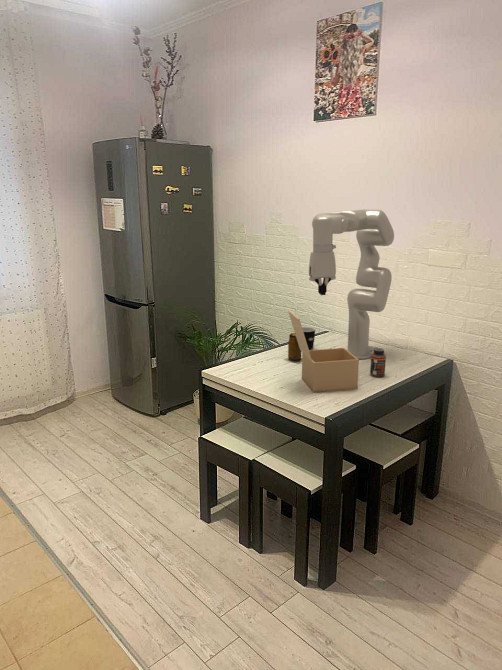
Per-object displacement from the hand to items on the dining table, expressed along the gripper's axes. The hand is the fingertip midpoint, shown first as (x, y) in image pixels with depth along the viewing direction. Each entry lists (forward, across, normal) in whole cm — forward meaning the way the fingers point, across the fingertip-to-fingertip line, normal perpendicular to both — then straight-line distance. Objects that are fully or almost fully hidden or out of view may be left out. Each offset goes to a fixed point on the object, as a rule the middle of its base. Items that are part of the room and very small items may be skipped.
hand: (322, 294), depth 206 cm
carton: (+34, 0, +10) cm, 36 cm away
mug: (+36, -5, -38) cm, 52 cm away
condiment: (+35, +5, -22) cm, 42 cm away
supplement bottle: (+35, -23, +6) cm, 42 cm away
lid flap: (+13, +12, +10) cm, 20 cm away
